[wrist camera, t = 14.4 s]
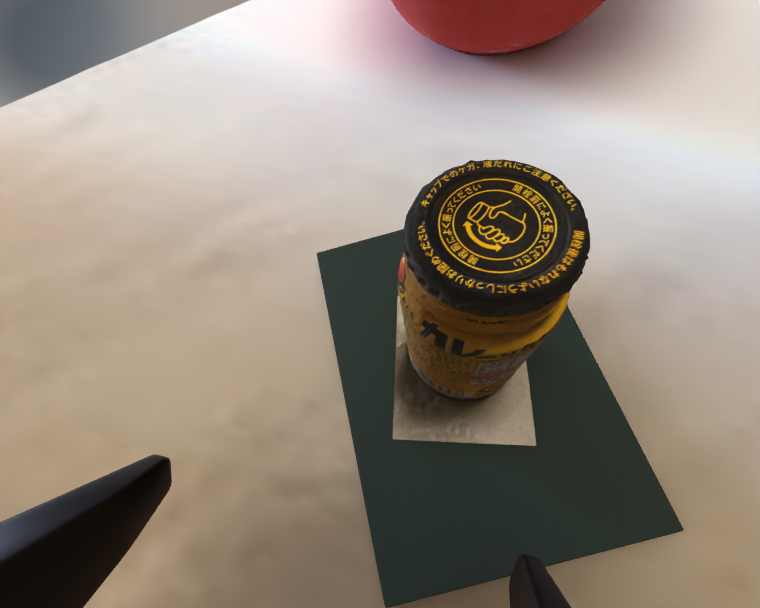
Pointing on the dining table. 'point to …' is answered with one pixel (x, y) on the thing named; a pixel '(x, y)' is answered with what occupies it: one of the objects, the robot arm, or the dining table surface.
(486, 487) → the placemat
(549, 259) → the condiment
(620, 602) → the dining table surface
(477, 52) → the mixing bowl
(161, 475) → the robot arm
